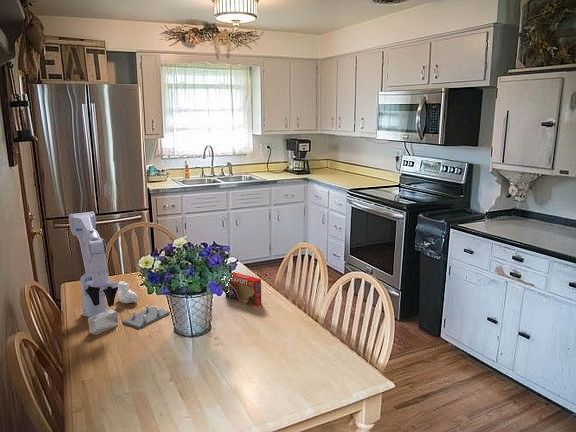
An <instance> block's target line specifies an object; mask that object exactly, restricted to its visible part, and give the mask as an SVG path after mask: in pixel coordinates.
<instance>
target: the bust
mask: <svg viewBox="0 0 576 432" xmlns="http://www.w3.org/2000/svg"><path fill="white" fill-rule="evenodd" d="M130 285H131V284H130V283H128V282H126V281H123V280H121V281H119V282H117V287H118V290H117V296H118V300H119V302H120V303H122V304H126V305H127V304H132V303H137V302H138V300H139V298H138V295H137V294H136V292H135V291H132V289H130V288H129V286H130Z"/></svg>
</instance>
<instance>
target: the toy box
mask: <svg viewBox="0 0 576 432" xmlns="http://www.w3.org/2000/svg"><path fill="white" fill-rule="evenodd" d="M232 272H233V278H232V279H230V281H229V283H228V286H229V292H228V293H226V292H225V298H226V299H229V300H232V301H235V302H238V303H242V304H245V305H249V306H252V307H254V306H255V308H257V307H259V306H260V305H262V279H261V278H259V277H258V278H257V277H253V276H250V275H247V274H242V273H239V272H235V271H232Z"/></svg>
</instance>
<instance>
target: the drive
mask: <svg viewBox="0 0 576 432" xmlns="http://www.w3.org/2000/svg"><path fill="white" fill-rule="evenodd" d="M106 310H107V311H105V312H102V313H100V314H98V315H95V316H93V317H91V318H89V317H87V322H88V331H89V334H92V335H94V336H97V335H100V334H102V333H104V332H106V331H108V330H111V329H113V328H115V327H117V326H119V321H118V320H119V319H118V312H117V311H116V310H114V309H111V308H110V309H106Z"/></svg>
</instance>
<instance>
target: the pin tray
mask: <svg viewBox="0 0 576 432" xmlns="http://www.w3.org/2000/svg"><path fill="white" fill-rule="evenodd" d="M131 313H132V314H131V315H132V316H129V317H128V318H125V319H123V320H122V321H121V322H122V324H124V325H127V326H129V327H132V328H135V329H138V330H140V329H142V328H144V327H146V326H149V325H150V324H152V323H154V322H156V321H158V320H160V319H163V318H164V317H167V316H168V315H170V314H171V313H170V311H169V310H165V309H163V308H160V307H159V308H158V307H155V306H151V307H150V306H149V305H148V304H146V305H145V310H143V311H141V312H139V313H136V311H135V310H133V311H132V312H131Z"/></svg>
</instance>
